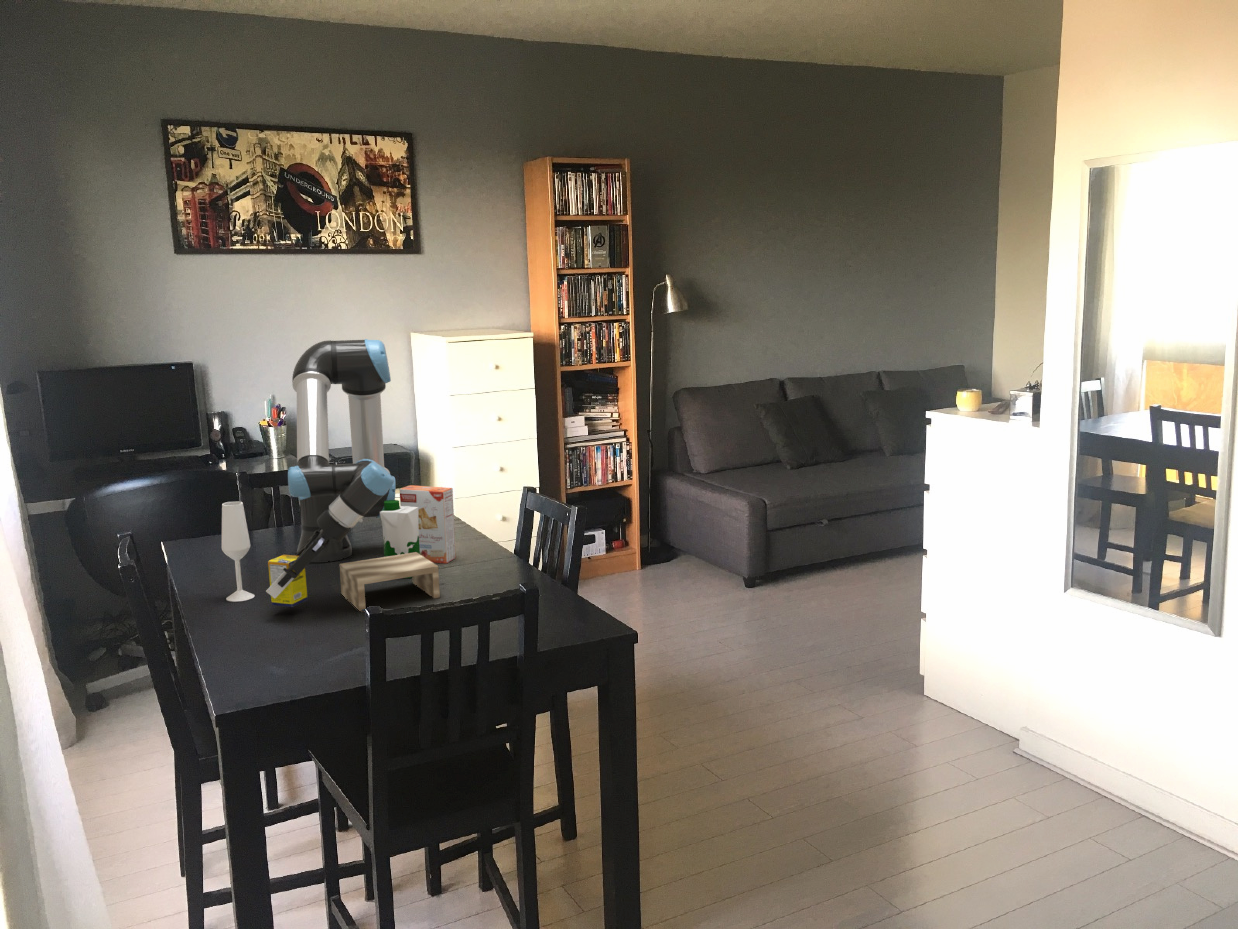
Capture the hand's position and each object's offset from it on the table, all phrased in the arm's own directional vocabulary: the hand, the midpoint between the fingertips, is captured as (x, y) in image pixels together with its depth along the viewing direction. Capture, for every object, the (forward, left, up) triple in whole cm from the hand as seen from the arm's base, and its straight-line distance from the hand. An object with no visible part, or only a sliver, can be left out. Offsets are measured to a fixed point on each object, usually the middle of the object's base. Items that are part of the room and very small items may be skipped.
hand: (273, 588), depth 228 cm
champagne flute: (-18, -5, -6) cm, 20 cm away
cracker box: (-25, +47, -6) cm, 54 cm away
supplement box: (+1, +3, -4) cm, 5 cm away
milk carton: (-15, +36, -6) cm, 40 cm away
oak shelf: (+2, +27, -6) cm, 28 cm away
